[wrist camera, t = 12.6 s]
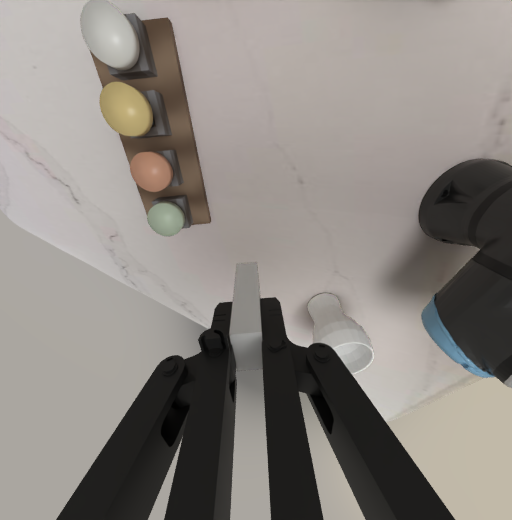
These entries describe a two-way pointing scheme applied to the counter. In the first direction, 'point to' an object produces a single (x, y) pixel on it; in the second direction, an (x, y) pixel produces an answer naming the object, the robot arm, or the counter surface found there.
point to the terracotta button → (151, 171)
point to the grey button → (109, 34)
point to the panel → (163, 118)
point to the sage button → (166, 218)
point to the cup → (340, 332)
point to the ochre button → (126, 109)
